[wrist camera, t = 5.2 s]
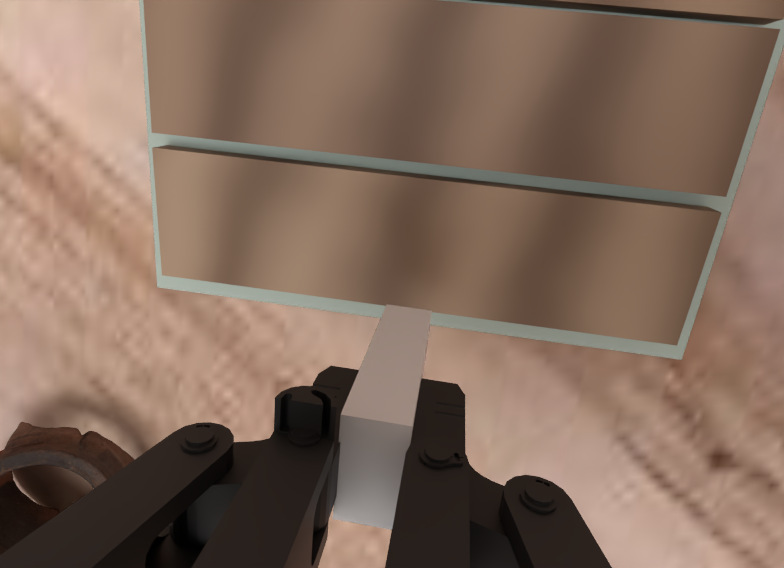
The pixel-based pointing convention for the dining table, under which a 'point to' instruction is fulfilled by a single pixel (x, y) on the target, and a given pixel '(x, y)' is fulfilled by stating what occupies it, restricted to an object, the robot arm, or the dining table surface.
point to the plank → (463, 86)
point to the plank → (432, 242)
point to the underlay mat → (481, 175)
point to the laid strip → (676, 8)
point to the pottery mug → (51, 447)
